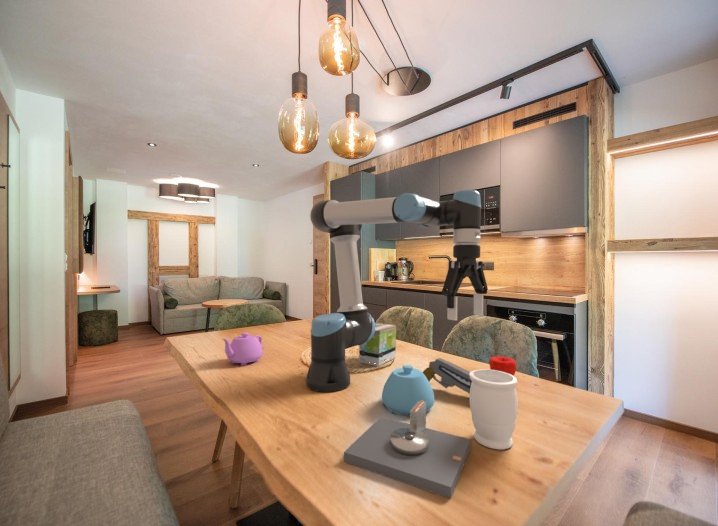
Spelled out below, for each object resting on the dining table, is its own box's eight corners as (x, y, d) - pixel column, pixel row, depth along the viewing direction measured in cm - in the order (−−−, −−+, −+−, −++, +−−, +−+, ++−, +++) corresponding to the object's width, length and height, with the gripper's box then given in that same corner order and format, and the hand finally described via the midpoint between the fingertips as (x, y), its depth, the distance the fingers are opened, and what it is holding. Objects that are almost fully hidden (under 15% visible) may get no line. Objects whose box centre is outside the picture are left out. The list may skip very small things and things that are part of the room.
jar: (462, 429, 81) (462, 369, 81) (502, 428, 82) (502, 368, 82) (482, 454, 70) (482, 384, 70) (527, 452, 71) (527, 383, 71)
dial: (421, 459, 65) (421, 428, 65) (384, 448, 69) (384, 418, 69) (439, 430, 76) (439, 403, 76) (406, 422, 80) (406, 397, 80)
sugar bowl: (373, 400, 99) (373, 362, 99) (415, 392, 105) (415, 356, 105) (398, 422, 85) (398, 377, 85) (445, 412, 91) (445, 370, 91)
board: (343, 461, 68) (343, 451, 68) (380, 424, 83) (380, 415, 83) (451, 498, 57) (451, 486, 57) (470, 448, 73) (470, 438, 73)
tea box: (379, 367, 130) (379, 330, 130) (358, 363, 136) (358, 327, 136) (396, 358, 143) (396, 324, 143) (376, 354, 148) (376, 322, 148)
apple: (509, 387, 109) (509, 363, 109) (484, 380, 116) (484, 357, 116) (520, 380, 115) (520, 358, 115) (496, 374, 122) (496, 353, 122)
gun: (482, 432, 96) (502, 390, 93) (416, 382, 112) (430, 344, 108) (486, 428, 99) (506, 387, 95) (421, 379, 114) (435, 342, 111)
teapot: (233, 372, 124) (233, 340, 124) (211, 365, 132) (211, 335, 132) (273, 359, 141) (273, 331, 141) (251, 354, 149) (251, 327, 149)
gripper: (452, 242, 84) (451, 324, 84) (500, 245, 100) (499, 314, 100) (429, 243, 90) (428, 320, 90) (477, 246, 106) (476, 311, 106)
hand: (465, 317), depth 95 cm, fingers open, 13 cm apart
